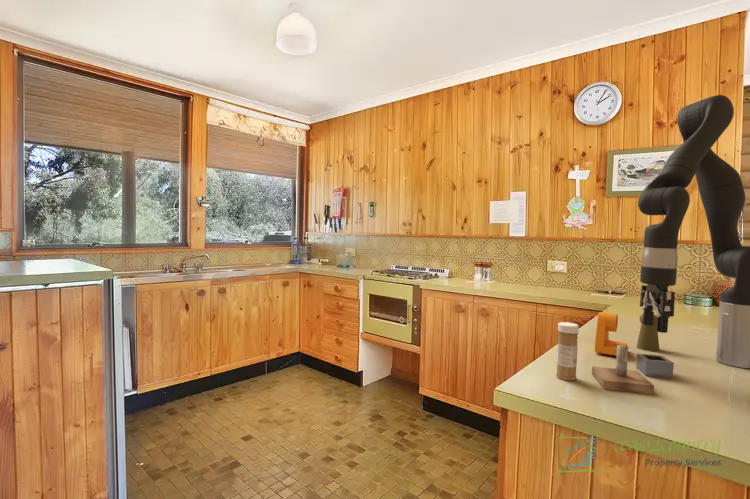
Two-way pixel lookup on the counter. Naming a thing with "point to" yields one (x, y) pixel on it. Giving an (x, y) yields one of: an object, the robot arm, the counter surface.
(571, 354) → the sprinkles bottle
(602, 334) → the bracket
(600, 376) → the wooden peg stand
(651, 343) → the olive pawn shape
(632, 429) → the counter surface
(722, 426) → the counter surface
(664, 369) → the collar
